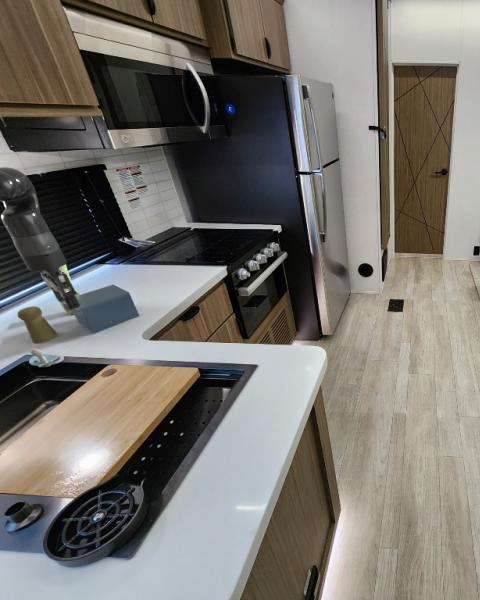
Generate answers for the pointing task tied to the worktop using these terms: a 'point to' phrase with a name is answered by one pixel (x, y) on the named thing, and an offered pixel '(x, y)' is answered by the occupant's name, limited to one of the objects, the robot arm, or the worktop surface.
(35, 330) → the cork
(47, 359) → the pacifier
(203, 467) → the worktop surface
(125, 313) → the blue-grey open box
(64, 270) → the tube
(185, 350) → the worktop surface
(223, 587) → the worktop surface
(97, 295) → the hinged box lid
